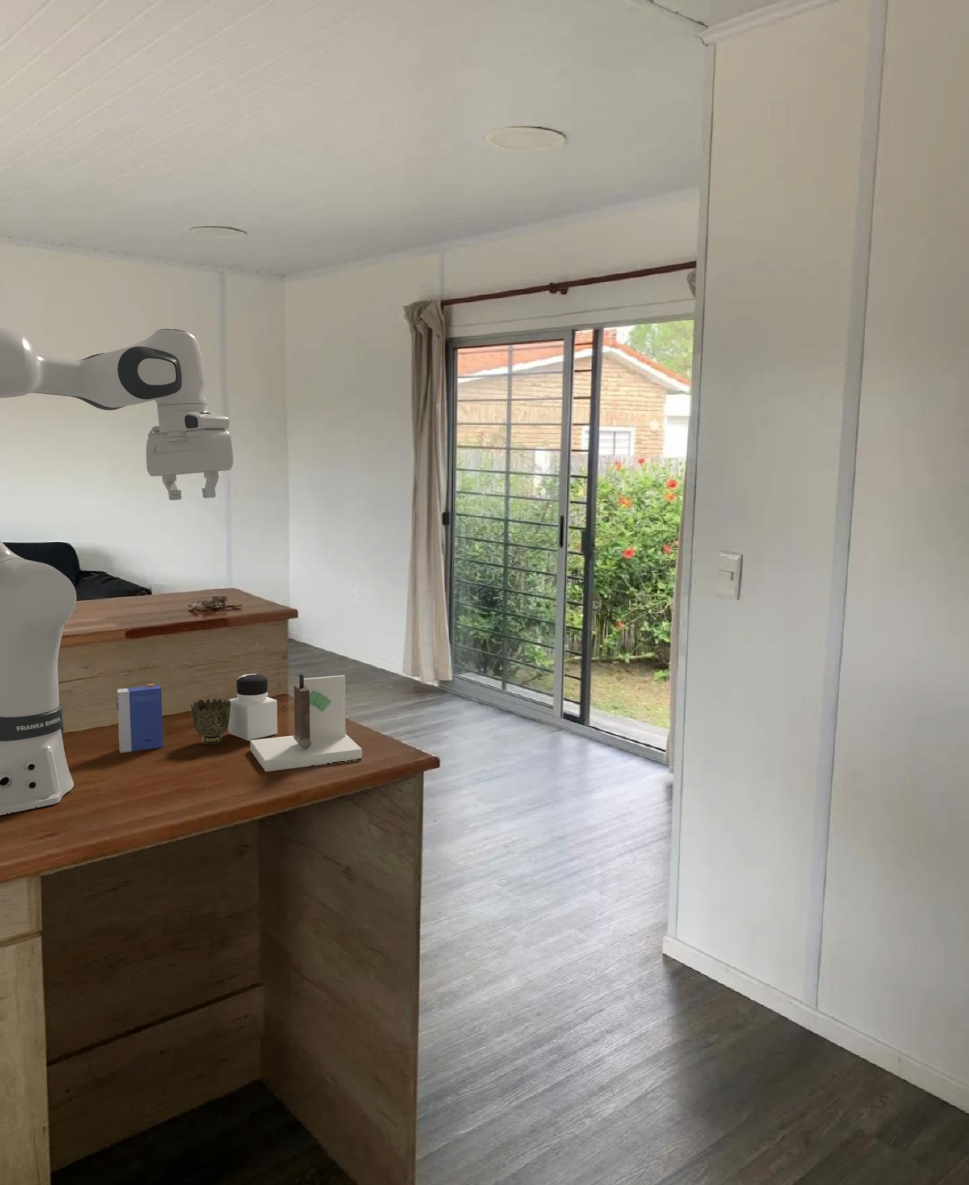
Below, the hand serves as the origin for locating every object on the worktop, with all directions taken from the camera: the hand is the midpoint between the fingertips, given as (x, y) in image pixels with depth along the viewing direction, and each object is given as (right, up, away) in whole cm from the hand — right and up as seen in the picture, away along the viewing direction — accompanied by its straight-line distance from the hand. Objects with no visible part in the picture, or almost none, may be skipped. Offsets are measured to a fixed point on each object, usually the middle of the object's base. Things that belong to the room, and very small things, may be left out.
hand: (192, 499), depth 177 cm
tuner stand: (+20, -48, +6) cm, 52 cm away
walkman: (-12, -47, +8) cm, 49 cm away
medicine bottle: (+7, -46, +18) cm, 50 cm away
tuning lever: (+19, -45, +3) cm, 49 cm away
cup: (0, -47, +12) cm, 48 cm away
